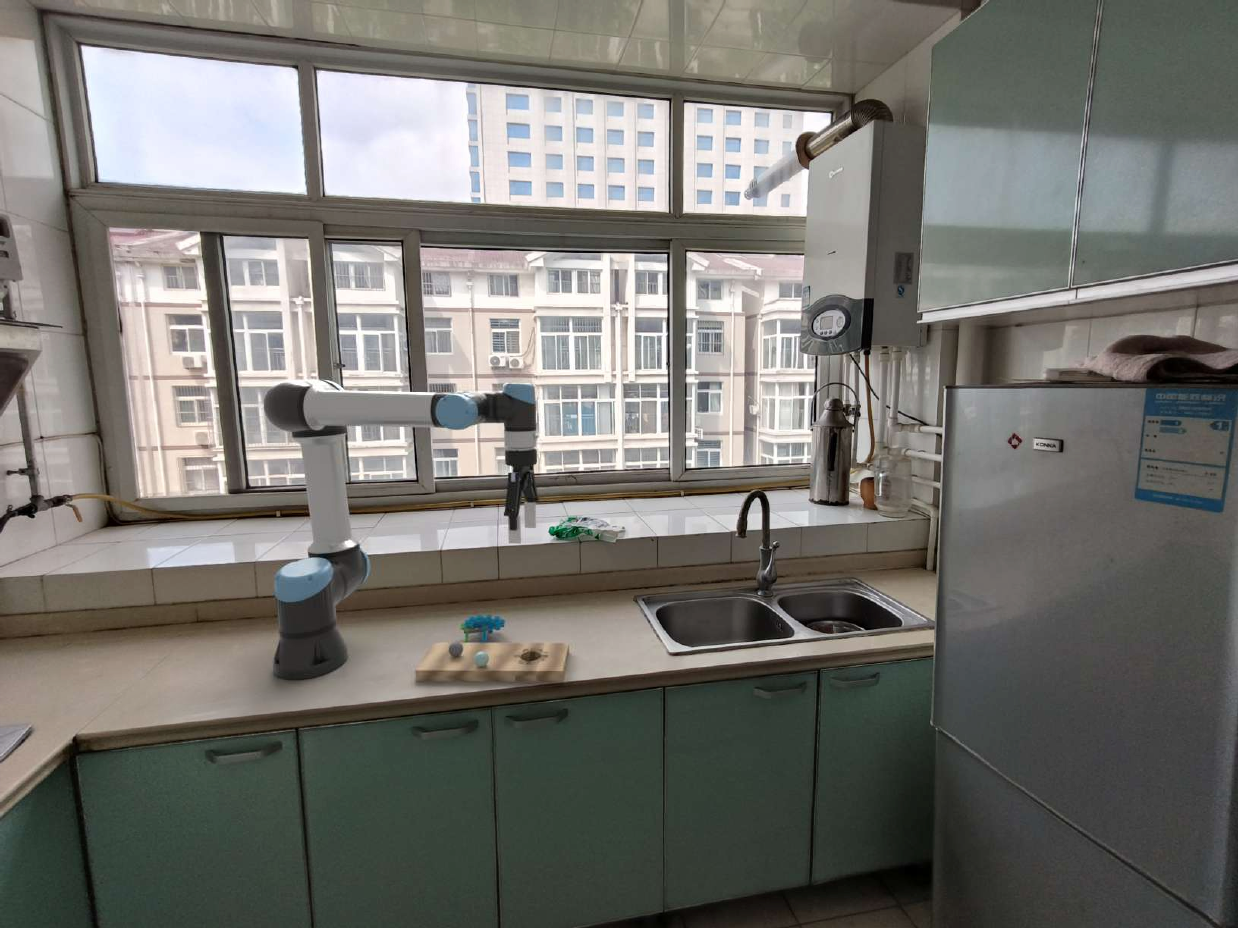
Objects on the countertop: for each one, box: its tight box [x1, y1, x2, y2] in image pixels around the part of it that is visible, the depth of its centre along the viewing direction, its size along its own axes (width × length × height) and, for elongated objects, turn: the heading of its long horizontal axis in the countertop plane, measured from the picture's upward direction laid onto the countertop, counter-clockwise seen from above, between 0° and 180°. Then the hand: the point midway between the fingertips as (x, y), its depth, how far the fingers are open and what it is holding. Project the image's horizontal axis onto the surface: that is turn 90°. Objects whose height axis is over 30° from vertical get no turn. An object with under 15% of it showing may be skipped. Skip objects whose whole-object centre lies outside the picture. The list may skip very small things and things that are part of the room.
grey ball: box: [449, 641, 463, 657], centre depth 130 cm, size 3×3×3 cm
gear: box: [460, 614, 506, 643], centre depth 144 cm, size 11×6×10 cm
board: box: [414, 642, 570, 683], centre depth 131 cm, size 32×13×2 cm, turn 89°
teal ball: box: [474, 651, 489, 667], centre depth 126 cm, size 3×3×3 cm
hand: (523, 535), depth 140 cm, fingers open, 13 cm apart
